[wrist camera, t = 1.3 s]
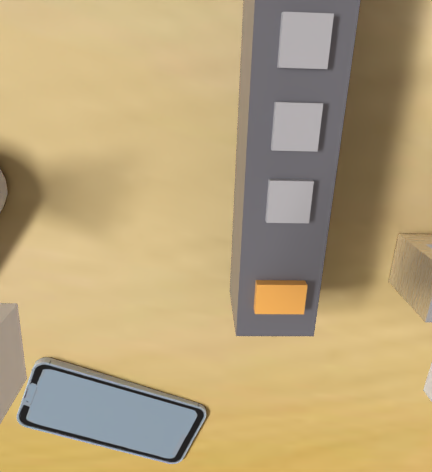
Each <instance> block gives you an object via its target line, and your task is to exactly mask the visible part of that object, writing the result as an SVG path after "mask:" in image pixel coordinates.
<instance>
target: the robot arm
mask: <svg viewBox="0 0 432 472" xmlns="http://www.w3.org/2000/svg"><path fill="white" fill-rule="evenodd" d="M26 379H27V376H26V368H25V360H24V352H23V344H22V336H21V328H20V320H19V313H18V305H17V304H13V303H0V423H1V422H2V420H3V418H4V417H5V415H6V413H7V411H8V410H9V408H10V406H11V405H12V403H13V401H14V400H15V398H16V396H17V394H18V393H19V391H20V389H21V388H22V386H23V384H24V383H25V381H26ZM423 391H424V392H425V393H426V395H427V396H428V398H429V399H430V400H431V402H432V363H431V367H430V370H429V373H428V376H427V380H426V383H425V386H424V389H423Z"/></svg>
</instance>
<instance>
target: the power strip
mask: <svg viewBox="0 0 432 472" xmlns="http://www.w3.org/2000/svg"><path fill="white" fill-rule="evenodd" d="M359 7H360V0H243V22H242V43H241V64H240V85H239V107H238V128H237V149H236V170H235V191H234V213H233V234H232V255H231V276H230V297H231V304H232V311H233V318H234V325H235V332H236V336H314V330H315V323H316V316H317V309H318V302H319V294H320V287H321V280H322V273H323V266H324V259H325V251H326V244H327V237H328V230H329V223H330V215H331V208H332V201H333V194H334V187H335V180H336V172H337V165H338V158H339V151H340V144H341V136H342V129H343V122H344V115H345V108H346V101H347V93H348V86H349V79H350V72H351V65H352V57H353V50H354V43H355V36H356V29H357V22H358V14H359Z"/></svg>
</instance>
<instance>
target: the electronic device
mask: <svg viewBox="0 0 432 472" xmlns="http://www.w3.org/2000/svg"><path fill="white" fill-rule="evenodd" d="M7 194H8V191H7V184H6V180H5V177H4V175H3V173H2V171H1V169H0V212H1V210H2V208H3V207H4V204H5V201H6V198H7Z"/></svg>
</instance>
